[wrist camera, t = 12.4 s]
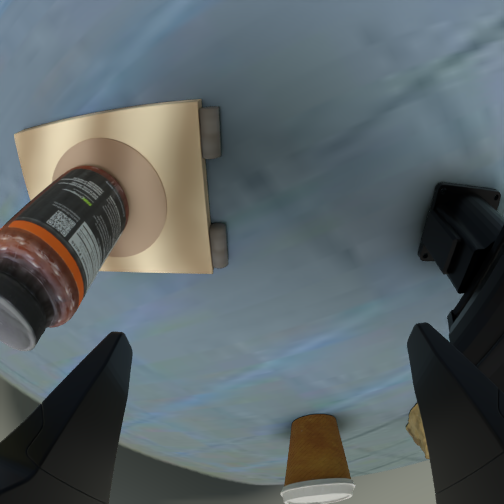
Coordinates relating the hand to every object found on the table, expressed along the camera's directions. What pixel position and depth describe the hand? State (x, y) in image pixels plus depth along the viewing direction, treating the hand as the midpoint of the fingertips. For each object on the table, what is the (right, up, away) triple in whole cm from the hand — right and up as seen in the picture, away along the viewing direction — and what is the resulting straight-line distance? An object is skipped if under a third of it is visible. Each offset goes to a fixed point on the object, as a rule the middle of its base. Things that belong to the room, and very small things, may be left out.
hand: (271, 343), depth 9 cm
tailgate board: (-10, +7, +12) cm, 17 cm away
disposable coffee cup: (+8, -21, +31) cm, 38 cm away
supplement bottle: (-11, +6, +11) cm, 17 cm away
